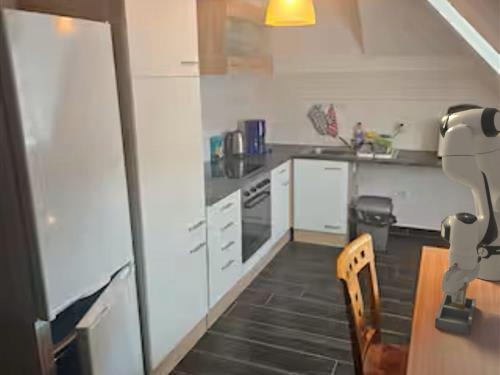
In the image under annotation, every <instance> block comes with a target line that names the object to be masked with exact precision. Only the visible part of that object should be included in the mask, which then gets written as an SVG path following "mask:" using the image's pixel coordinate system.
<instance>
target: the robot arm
mask: <svg viewBox="0 0 500 375" xmlns="http://www.w3.org/2000/svg"><path fill="white" fill-rule="evenodd" d="M438 128H439V132H440V135H441V137H442V138H443V144H442V149H441V150H442V151H441V166H442V167H441V168H442V172H443V173H444V175H446V177H447V178H449V179H450V180H452V181H453V182H456V183H458V184H461V185H464V186H466V187H468V188H470V189H471V194H472V196H473V201H474V208H475V210H474V211H475V214H473V213H470V212H465V211H463V212H457V213H455V214H454V215H449V216H448V215H447V216H446V217H445V218H443V219H442V220H441V224H440V237H441V238H442V239H443V240H444V241H445V242H446V243H449V245H450V247H449V249H448V259H447V263H448V265H449V266H448V268H447V269H445V271H444V272H443V275H442V280H441V286H440V287H441V288H440V289H441V292H442V293H447V294H451V295H452V297H451V298H452V300H455V301H456V300H457V299H458V297H459V295H457V292H458V290H459V289H460V288H462V287H463V286H464V283H463V281H464V277H466V276H468V281H467V287H466V291H468V287H469V285H470V283H471V282H473V281H474V280H476V279H477V278H478V279H481V280H487V281H496V282H497V281H498V282H499V281H500V110H499V109H498V108H495V107H485V108H470V109H467V110H462V111H458V112H457V111H456V112H450V113H447V114H446V115H445V114H444V116H443V117H442V118H441V119H440V122H439V127H438Z"/></svg>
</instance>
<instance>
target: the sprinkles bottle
mask: <svg viewBox="0 0 500 375" xmlns="http://www.w3.org/2000/svg"><path fill="white" fill-rule="evenodd" d="M467 281H468V276H466V277H464V281H463V283H464V286H463V287H462V288H460V289H459V290H458V292H457V295H459V297H458V299H457V300H456V301H455V300H452V306H451V307H456V308H461V309H465V301H466V297H467V290H466V287H467Z"/></svg>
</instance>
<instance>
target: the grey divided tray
mask: <svg viewBox="0 0 500 375" xmlns="http://www.w3.org/2000/svg"><path fill="white" fill-rule="evenodd" d="M451 297H452V295H451V294H448V293H445V292H443V297H442V300H441V303H440V305H439V308H438V310H437V314H436V317H435V321H434V322H435V323H434V328H438V329H442V330H446V331H451V332H453V333H454V332H456V333H459V334H464V335H466V336H467V335H468V336H470V334H471V329H472V325H473V319H474V315H475V311H476V303H477V299H476V298H473V297H472V298H471V297H469V296H468V297H467V296H466V301H465V309H461V308H456V307H451V306H452V298H451Z"/></svg>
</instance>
